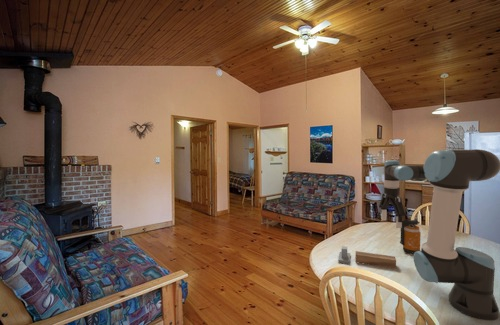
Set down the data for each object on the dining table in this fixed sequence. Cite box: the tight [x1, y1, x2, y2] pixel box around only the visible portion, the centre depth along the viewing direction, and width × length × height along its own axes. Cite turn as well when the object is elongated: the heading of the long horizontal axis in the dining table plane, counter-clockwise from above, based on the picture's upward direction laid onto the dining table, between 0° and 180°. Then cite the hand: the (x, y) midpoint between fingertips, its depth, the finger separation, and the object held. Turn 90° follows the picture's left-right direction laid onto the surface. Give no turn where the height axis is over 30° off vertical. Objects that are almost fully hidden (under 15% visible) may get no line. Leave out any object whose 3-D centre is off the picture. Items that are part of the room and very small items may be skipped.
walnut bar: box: [354, 250, 397, 270], centre depth 138 cm, size 5×20×5 cm, turn 66°
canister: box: [399, 219, 422, 254], centre depth 153 cm, size 9×11×20 cm
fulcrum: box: [337, 245, 351, 265], centre depth 144 cm, size 12×6×7 cm, turn 156°
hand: (391, 223), depth 142 cm, fingers open, 13 cm apart
